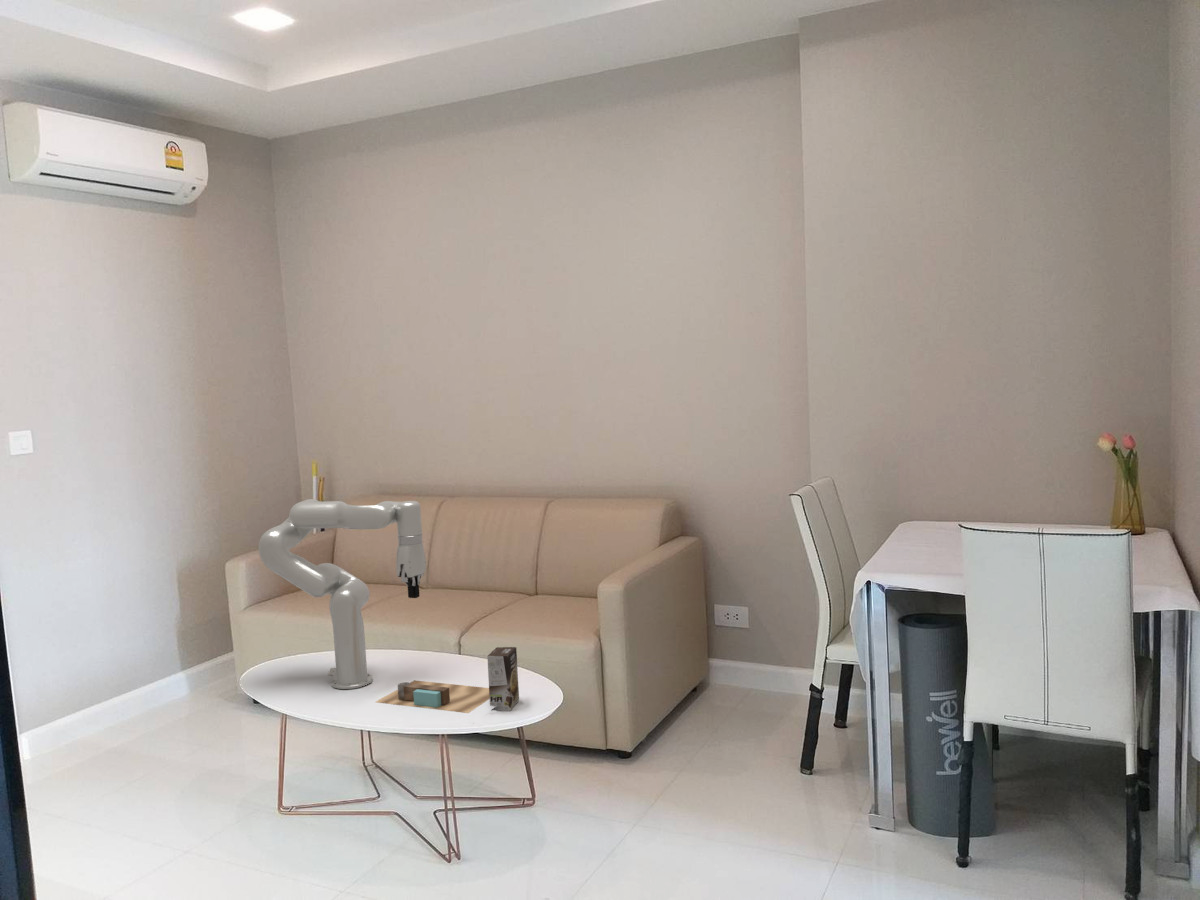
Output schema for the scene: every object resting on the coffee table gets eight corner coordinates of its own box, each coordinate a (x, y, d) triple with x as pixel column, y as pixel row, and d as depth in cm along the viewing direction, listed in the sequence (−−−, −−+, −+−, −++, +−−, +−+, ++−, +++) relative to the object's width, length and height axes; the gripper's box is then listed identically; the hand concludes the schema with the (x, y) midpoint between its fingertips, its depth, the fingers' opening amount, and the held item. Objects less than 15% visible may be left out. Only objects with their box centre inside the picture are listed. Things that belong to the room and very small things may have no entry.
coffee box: (511, 711, 257) (507, 655, 255) (489, 710, 258) (486, 655, 257) (520, 700, 266) (517, 646, 264) (499, 699, 267) (496, 646, 266)
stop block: (414, 704, 261) (413, 691, 261) (418, 702, 263) (417, 689, 263) (437, 707, 258) (436, 694, 258) (441, 705, 260) (440, 691, 260)
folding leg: (395, 699, 266) (395, 685, 266) (403, 694, 269) (402, 681, 269) (443, 704, 259) (442, 691, 259) (450, 700, 262) (449, 687, 262)
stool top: (375, 707, 265) (374, 702, 265) (414, 684, 284) (414, 680, 284) (468, 718, 253) (468, 713, 253) (503, 694, 271) (503, 689, 271)
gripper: (414, 535, 293) (417, 591, 294) (386, 544, 279) (389, 602, 280) (433, 536, 290) (437, 592, 291) (406, 544, 276) (410, 603, 277)
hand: (413, 597), depth 286 cm, fingers closed
